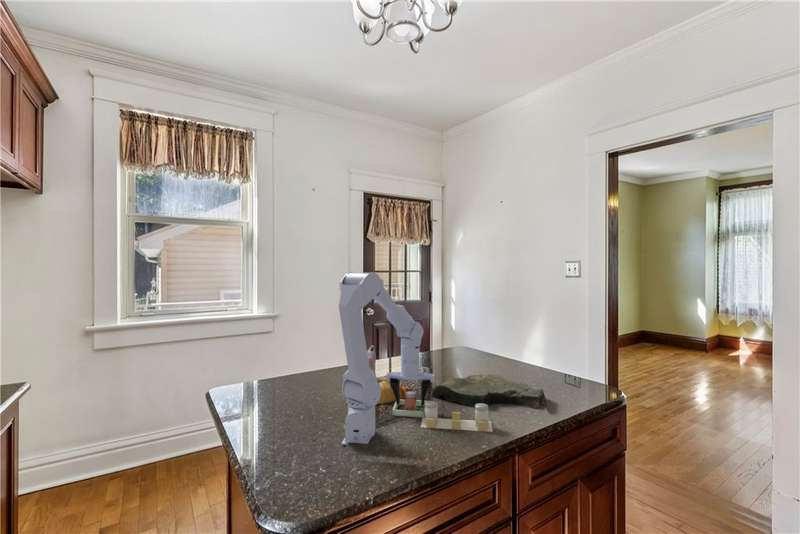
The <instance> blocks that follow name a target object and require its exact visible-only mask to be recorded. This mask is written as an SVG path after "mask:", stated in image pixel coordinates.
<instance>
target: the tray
mask: <svg viewBox="0 0 800 534" xmlns="http://www.w3.org/2000/svg"><path fill="white" fill-rule="evenodd" d="M421 401H422V399H420V400H419V399H416V407H422V406H421ZM427 401H428V400H425V401H424V406H423V407H424V408H423V410H416V411H410V410H405V409H398V406H405V399H400V403H399V404H397V403H396V401H394V405H393V407H392V409H391V416H396V417H397V416H398V417H410V418H411V417H413V418H414V417H415V418H423V417H424V418H425V402H427Z"/></svg>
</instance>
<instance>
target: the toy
mask: <svg viewBox="0 0 800 534" xmlns="http://www.w3.org/2000/svg"><path fill="white" fill-rule="evenodd" d="M367 355H368V362H369V367H370V369H371V370H372V371H373V372H374V373H375V364H376V362H377V361H376V353H375V346H374V345H371V346H370V347H369V348H368V349H367Z"/></svg>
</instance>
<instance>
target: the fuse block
mask: <svg viewBox="0 0 800 534" xmlns="http://www.w3.org/2000/svg"><path fill="white" fill-rule="evenodd" d="M461 417H462V416H461V411H451V418H441V417H440V418H439V417H438V424H437V425H435V418H426V424H425V417H422V419H421V423H420V424H421V425H420V428H427V429H441V430H442V429H443V430H456V431H457V430H458V431H459V430H460V431H461V430H462V431H472V432H473V431H474V432H475V431H476V432H491V433H493V432H494V431H493V424H492V421H490V420H488V428H487V421H478V428H477V427H476V426H475V420H472V419H461Z"/></svg>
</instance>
